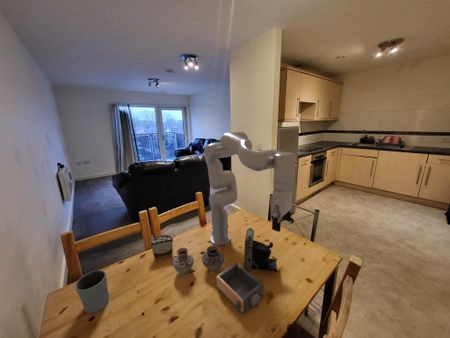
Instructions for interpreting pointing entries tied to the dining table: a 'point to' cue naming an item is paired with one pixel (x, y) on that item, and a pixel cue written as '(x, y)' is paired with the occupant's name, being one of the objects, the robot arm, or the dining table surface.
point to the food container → (162, 246)
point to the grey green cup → (93, 291)
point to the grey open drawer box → (243, 286)
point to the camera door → (230, 294)
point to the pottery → (210, 260)
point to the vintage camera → (257, 254)
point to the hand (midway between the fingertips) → (281, 225)
